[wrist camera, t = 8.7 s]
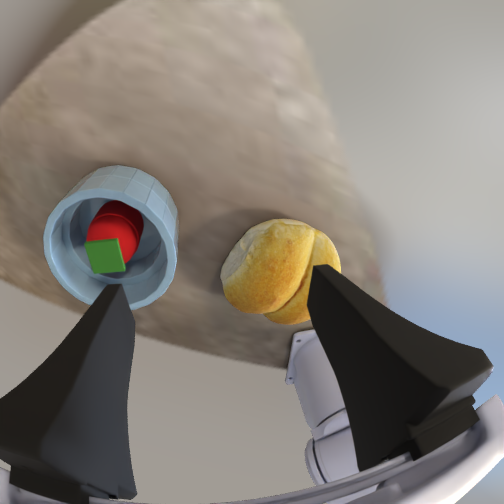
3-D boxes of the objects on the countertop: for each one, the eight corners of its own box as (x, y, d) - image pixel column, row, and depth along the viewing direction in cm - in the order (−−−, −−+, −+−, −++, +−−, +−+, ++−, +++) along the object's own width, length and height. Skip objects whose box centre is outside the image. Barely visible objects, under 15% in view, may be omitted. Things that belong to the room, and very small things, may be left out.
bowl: (185, 263, 21) (184, 306, 17) (86, 272, 20) (70, 313, 16) (172, 155, 16) (165, 179, 13) (58, 174, 15) (26, 201, 12)
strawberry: (147, 243, 19) (139, 280, 16) (102, 247, 18) (86, 284, 15) (139, 196, 17) (126, 227, 14) (91, 203, 16) (69, 234, 13)
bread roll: (292, 316, 26) (304, 350, 23) (205, 281, 22) (208, 319, 19) (353, 249, 23) (376, 279, 20) (268, 194, 19) (284, 222, 16)
